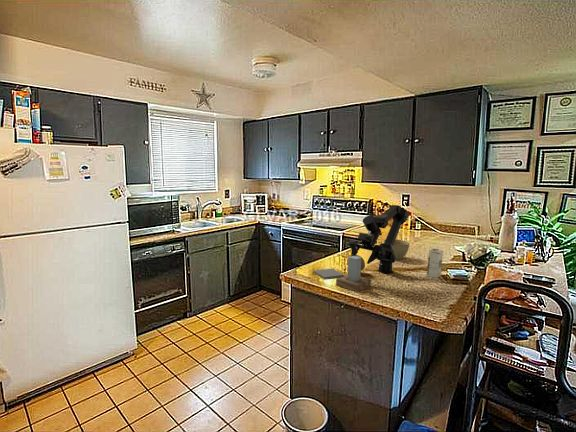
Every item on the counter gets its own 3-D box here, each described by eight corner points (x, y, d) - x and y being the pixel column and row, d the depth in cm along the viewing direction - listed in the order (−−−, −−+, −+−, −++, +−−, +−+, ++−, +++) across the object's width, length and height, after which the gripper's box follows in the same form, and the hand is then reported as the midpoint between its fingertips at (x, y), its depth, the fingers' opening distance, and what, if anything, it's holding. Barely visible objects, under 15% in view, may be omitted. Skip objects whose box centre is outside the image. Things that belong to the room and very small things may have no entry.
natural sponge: (343, 272, 180) (344, 254, 178) (354, 269, 186) (355, 252, 184) (357, 276, 173) (358, 257, 172) (367, 273, 179) (368, 255, 177)
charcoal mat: (332, 270, 183) (332, 268, 182) (344, 276, 172) (344, 274, 172) (313, 272, 178) (313, 270, 178) (324, 279, 167) (324, 277, 167)
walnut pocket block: (349, 279, 167) (350, 274, 167) (370, 285, 159) (371, 279, 158) (336, 285, 158) (336, 279, 158) (357, 291, 150) (357, 285, 150)
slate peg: (352, 283, 162) (353, 255, 160) (359, 285, 159) (361, 257, 157) (347, 285, 159) (348, 257, 157) (354, 287, 156) (356, 259, 154)
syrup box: (429, 273, 180) (431, 248, 178) (441, 276, 177) (443, 249, 175) (426, 276, 176) (428, 249, 174) (438, 278, 172) (440, 251, 170)
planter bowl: (398, 262, 201) (399, 245, 200) (377, 256, 214) (378, 240, 213) (413, 259, 211) (414, 242, 209) (392, 253, 224) (393, 238, 222)
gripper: (350, 224, 168) (337, 248, 162) (384, 229, 155) (371, 255, 149) (358, 237, 175) (345, 261, 168) (391, 243, 162) (378, 269, 156)
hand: (359, 261), depth 160 cm, fingers open, 9 cm apart
